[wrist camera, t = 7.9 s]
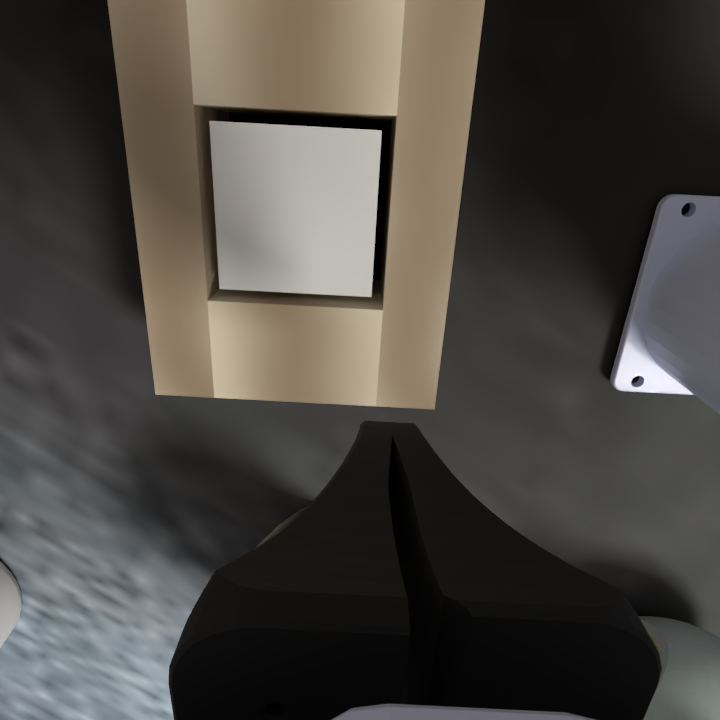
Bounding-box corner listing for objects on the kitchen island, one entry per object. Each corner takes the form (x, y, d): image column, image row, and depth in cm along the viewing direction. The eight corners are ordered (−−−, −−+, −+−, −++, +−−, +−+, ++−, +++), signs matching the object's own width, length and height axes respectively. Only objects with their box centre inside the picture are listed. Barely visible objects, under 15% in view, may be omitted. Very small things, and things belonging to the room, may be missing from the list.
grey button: (379, 132, 17) (382, 130, 15) (371, 275, 19) (371, 297, 17) (234, 124, 17) (209, 120, 15) (240, 268, 19) (219, 289, 17)
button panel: (515, -469, 13) (574, -720, 9) (423, 364, 22) (434, 409, 18) (118, -494, 13) (15, -756, 9) (191, 352, 22) (155, 394, 18)
